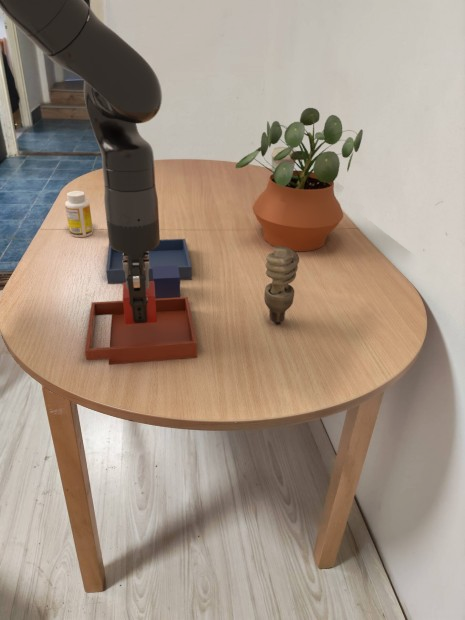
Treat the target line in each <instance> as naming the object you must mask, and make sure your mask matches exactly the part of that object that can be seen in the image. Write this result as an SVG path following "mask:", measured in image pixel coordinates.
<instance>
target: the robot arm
mask: <svg viewBox="0 0 465 620" xmlns="http://www.w3.org/2000/svg"><path fill="white" fill-rule="evenodd" d="M0 10H1V11H2V12H3V13H4V14H5V16H6V17H7V18H8V19H9V20H10V21H11V22H12V24H13V25H14V26H15V27H16V28H18V30H20V32H21V33H22V34H24V35H25V36H26V37H27V38H28V39H29V40H30V41H31V42H32V43H33V44H34V45H35V46H36V47H37V48H38V49H39V50H40V51H41V52H42V53H43V54H44V55H45V56H46V57H47V58H48V59H49V60H51V61H52V62H53V63H54V64H55V65H57V66H58V67H59V68H61V69H63V70H65V71H67V72H69V73H71V74H74V75H76V76H77V77H79V78H80V79H82V80H83V97H84V98H83V99H84V103H85V104H84V105H85V108H86V112H87V115H88V118H89V122H90V125H91V129H92V132H93V135H94V138H95V140H96V143H97V145H98V148H99V151H100V156H101V166H102V167H101V168H102V176H103V185H104V186H103V187H104V197H103V198H104V199H103V200H104V210H105V211H104V212H105V219H106V227H107V229H106V230H107V237H108V245H109V244H110V246H111V247H112V248H113V249H114V250H116V251H118V252H122V253H123V259H124V260H123V270H124V271H125V276H126V288H127V289H128V290H129V297H130V301H129V305H130V306H131V307H132V311H133V321H134V323H146V322H147V304H148V298H147V297H146V289H148V288H149V277H148V270H149V268H150V267H149V251H151V250H153V249H155V248H156V247H157V246H158V245H159V243H160V240H161V237H160V236H161V235H160V213H159V212H160V211H159V198H158V197H159V196H158V192H157V186H156V169H155V168H156V167H155V156H154V150H153V147H152V145H151V143H150V142H148V140H146V139H145V138H143V136H142V135H141V134H140V132H139V129H138V125H137V124H144V123H147V122H149V121H151V120H153V118H155V117H156V116H157V114H158V113H159V111H160V109H161V106H162V103H163V91H162V86H161V83H160V80H159V78H158V75H157V74H156V72H155V70H154V69H153V68H152V66H151V65H150V64H149V62H148V61H147V60H146V59H145V58H144V57H143V56H142V55H141V54H140V53H139V52H138V51H137V50H135V49H134V48H133V47H132V46H131V44H129V43H128V42H127V41H125V40H124V39H123V38H122V37H121V36H120V35H119V34H118V33H116V32H115V31H114V30H112V29H111V28H110V27H109V26H108V25H106V23H104V22H103V21H102V20H101V19H100V18H98V16H97V15H96V14H95V12H94V11H93V9H91V7H90V6H89V4H88V3H87V2H86V1H85V0H0Z"/></svg>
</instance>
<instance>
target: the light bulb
mask: <svg viewBox="0 0 465 620" xmlns="http://www.w3.org/2000/svg"><path fill="white" fill-rule="evenodd" d="M265 260H266V263H265V268H266V271H265V275H266V276H267V277H268V278H269V279H271V282H270V283H269V284H266V286H265V287H264V294H263V295H264V299H263V300H264V303H265V305H266V307H267V308H268V310H269V311H268V312H269V314H268V315H269V321H270V322H273V323H274V324H275V325H280V324H281V323H283V322H284V321H285V319H286V316H285V315H286V312H287V310H288V309H290V308H291V307H292V305H293V302H294V297H295V289H294V287H293V286H292V285H291V283H293V282H294V281H295V279H296V277H297V271H298V267H299V266H298V265H299V262H300V256H299V254H298V253H297V251H293V250H292V249H290V248H287V247H282V246H278V247H275V246H274V248H273V252H270V253H268V254H267V255H266V257H265Z"/></svg>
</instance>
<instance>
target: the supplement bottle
mask: <svg viewBox="0 0 465 620" xmlns="http://www.w3.org/2000/svg"><path fill="white" fill-rule="evenodd" d="M66 199H67V200H66V201H65V202H64V206H65V207H64V208H65V213H66V218H67V226H68V231H69V234H70V235H71V236H72V237H75V238H85V237H89V236H91V235H92V234H93V232H94V227H93V220H92V219H93V218H92V213H91V212H92V211H91V205H90V201H89V200H88V199H86V194H85V192H84V191H82V190H72V191H68V192H67V193H66Z"/></svg>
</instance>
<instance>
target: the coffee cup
mask: <svg viewBox="0 0 465 620" xmlns="http://www.w3.org/2000/svg"><path fill="white" fill-rule="evenodd" d="M286 148H288V146H277V147H273V149H272V151H271V152H270V156H271V170H272V171H273V172H274V171H275V169H276V167H277V166H278V165H279V164H280V163H282V162H290V163H291V164H292V165H293V167H294V168H295V166H296V163H295V162H297V160H295V162H294V161H293V159H291V158H290V155H291V154H292V153H293V152H292V151H291V152H290V153H289V154H290V155H289V154H288V155H287V156H286V157H285V158H283V159H281V160H277V161H274V160H273V159H274V157H275V156H276V155H277V154H278V153H279V152H281V151H282V150H284V149H286ZM293 151H294V152H295V151H297V149H295V148H293ZM272 166H273V167H274V168H275V169H274V168H273V167H272ZM294 168H293V170H295V169H294ZM272 174H274V173H272V172H271V175H272Z"/></svg>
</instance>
